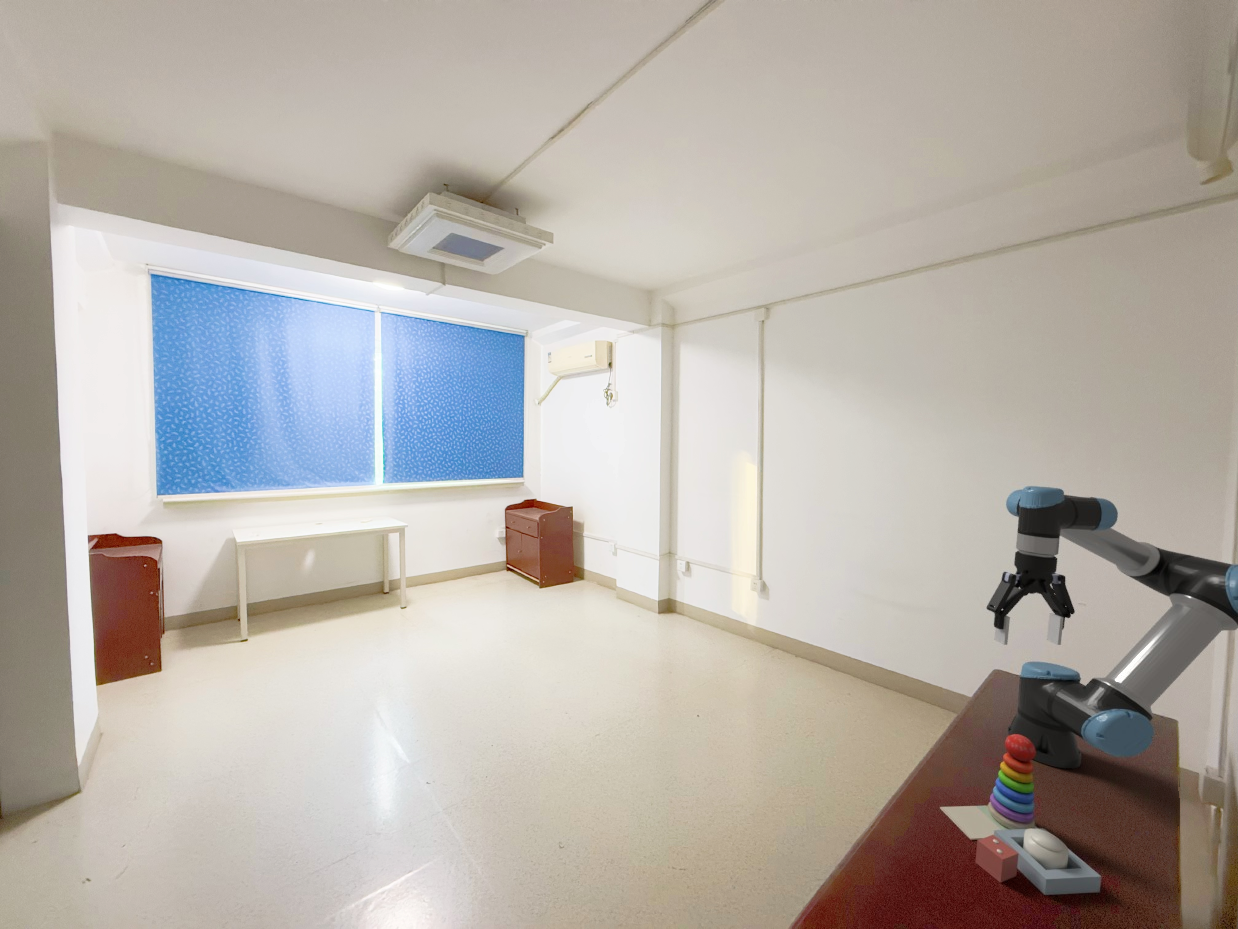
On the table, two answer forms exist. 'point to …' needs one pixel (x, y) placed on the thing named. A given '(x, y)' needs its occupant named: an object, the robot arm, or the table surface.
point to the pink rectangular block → (997, 858)
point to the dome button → (1045, 849)
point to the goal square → (986, 812)
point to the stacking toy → (1015, 786)
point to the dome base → (1052, 881)
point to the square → (971, 821)
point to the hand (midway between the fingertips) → (1027, 642)
